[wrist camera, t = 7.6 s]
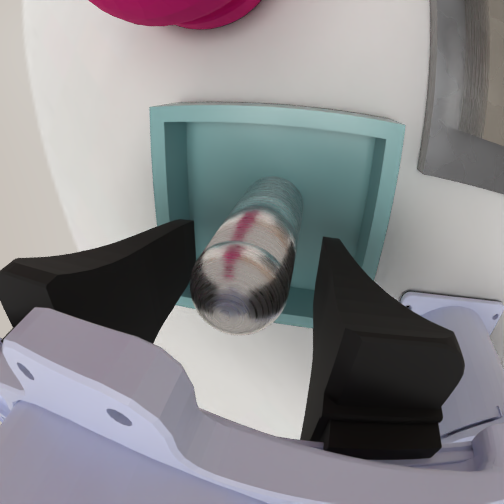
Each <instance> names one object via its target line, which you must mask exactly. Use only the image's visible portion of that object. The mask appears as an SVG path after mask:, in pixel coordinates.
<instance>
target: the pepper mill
mask: <svg viewBox="0 0 504 504" xmlns="http://www.w3.org/2000/svg"><path fill="white" fill-rule="evenodd" d="M89 1H90V2H92V3H93V4H94V5H96V6H97V7H98V8H100V9H101V10H102V11H104V12H106V13H108V14H110V15H112V16H114V17H117V18H120V19H122V20H125V21H128V22H131V23H134V24H137V25H145V26H168V25H177V26H180V27H184V28H188V29H212V28H216V27H220V26H224V25H227V24H229V23H232V22H234V21H236V20H238V19H240V18H241V17H243V16H245V15H246V14H247V13H248V12H250V11H251V10H252V9H253V8H255V7H256V6H257V5H258V3H259V2H260V1H261V0H89Z"/></svg>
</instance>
